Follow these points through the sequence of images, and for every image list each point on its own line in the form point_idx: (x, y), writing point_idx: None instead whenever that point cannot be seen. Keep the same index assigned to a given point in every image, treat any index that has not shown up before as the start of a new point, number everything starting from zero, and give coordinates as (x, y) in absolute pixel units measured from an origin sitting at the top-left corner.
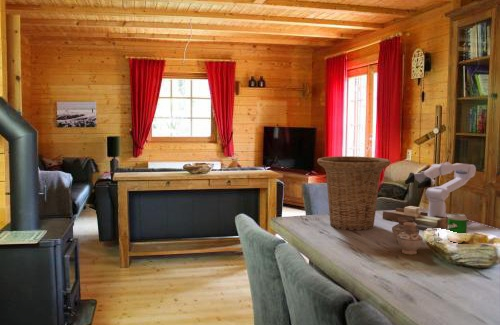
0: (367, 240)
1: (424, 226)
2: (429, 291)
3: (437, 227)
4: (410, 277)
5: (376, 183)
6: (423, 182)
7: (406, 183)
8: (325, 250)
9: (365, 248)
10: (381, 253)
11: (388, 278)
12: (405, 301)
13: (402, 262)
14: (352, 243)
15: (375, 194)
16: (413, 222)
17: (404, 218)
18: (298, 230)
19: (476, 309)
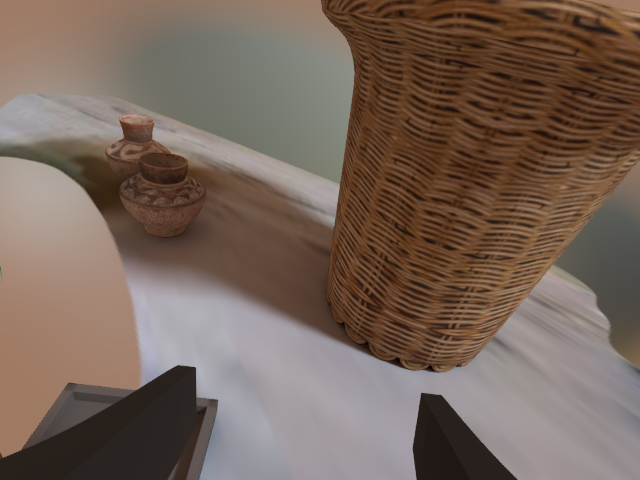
0: (262, 217)
1: None
2: (94, 116)
3: None
4: None
5: (351, 125)
6: (91, 420)
7: (415, 440)
8: (288, 169)
9: (236, 185)
10: (196, 175)
11: (153, 129)
12: (122, 107)
13: None
14: (276, 197)
15: (344, 179)
16: (195, 464)
17: (171, 170)
18: None
19: (37, 101)
